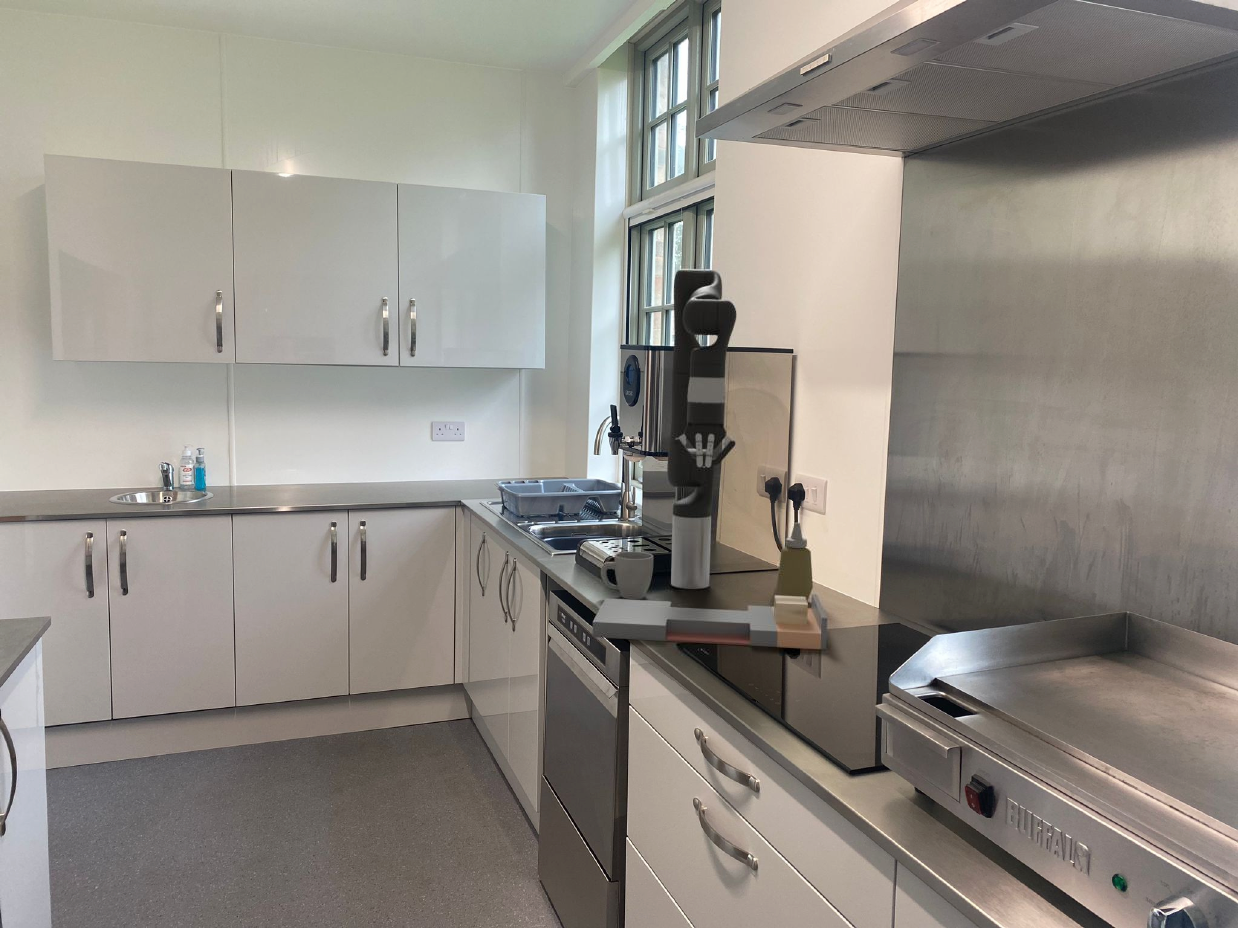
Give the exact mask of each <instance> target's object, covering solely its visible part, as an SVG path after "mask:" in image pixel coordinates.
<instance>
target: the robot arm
mask: <svg viewBox="0 0 1238 928" xmlns="http://www.w3.org/2000/svg"><path fill="white" fill-rule="evenodd" d="M722 281H723V280H722V277H721V275H720V273H719V272H718V271H717V270H715V269H704V268H701V269H699V268H695V269H694V268H680V269H678V270H676V272H675V274H674V279H673V322H674V323H673V324H674V325H673V326H674V330H673V331H674V332H673V334H674V338H673V340H674V341H673V356H672V370H671V371H672V372H671V373H672V374H671V421H670V423H671V424H670V434H669V442H668V443H669V445H668V454H667V465H666V466H667V468H666V471H667V479H668V482H669V484H670V485H671V487H673V488H695V489H694V491H693V492H692V493H691V494H690V495H688V496H687V497H685V498H682V499H679V500H677V501H675V502H674V504H673V506H672V534H671V535H672V536H671V537H672V539H671V574H670V575H671V576H670V577H671V578H670V580H671V581H670V585H671V586H672V587H675V588H679V589H684V590H685V589H686V590H699V589H706V588H708V587H709V586H710V567H711V566H710V565H711V532H712V526H711V525H712V509H713V499H714V485H715V470H716V466H717V465H719V464H721V463H722V461H723V460H724V459H725V458H726V456H728V454H729V453H730V452H731V450H733V449H734V447H735V446H736V441H735V440H734V439H732V438H731V437H730V436H728V435H727V430H726V428H725V417H726V415H725V412H726V410H725V409H726V399H727V397H726V379H725V375H726V361H727V359H726V357H727V352H728V348H729V343H730V340H731V337H732V335H733V334H732V333H733V331H734V327H735V324H736V321H737V309H736V307H735V305H734V303H732V301H730V300H728V299H722V298H723V282H722ZM696 336H717V337H716V340H715V341H714V342H713V344H710V345H707V346H701V344H700V343H699V341H698V339H697V337H696ZM687 440H688V442H689V443H690V445H691V447H693V448H688V447H686V445H687ZM723 440H724V441H723ZM722 442H723V443H722ZM721 443H722V445H723V448H722V449H721V450H720V452H719V453H718V454H717V455H716V457H714V454H713V452H714V451H715V449H717V448H718V447H719V445H720V444H721Z"/></svg>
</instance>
